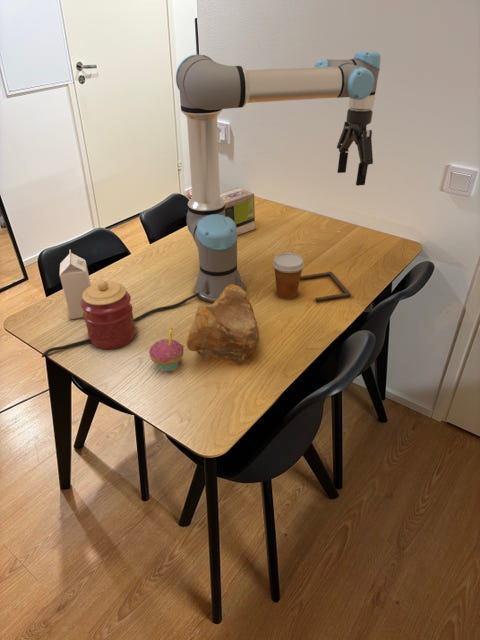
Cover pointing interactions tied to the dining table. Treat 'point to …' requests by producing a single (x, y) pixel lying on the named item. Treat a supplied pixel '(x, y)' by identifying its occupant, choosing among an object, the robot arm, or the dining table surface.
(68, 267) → the milk carton
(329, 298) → the walnut frame
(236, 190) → the tea box
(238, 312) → the rough brown rock
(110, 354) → the dining table surface
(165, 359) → the cupcake
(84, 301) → the kitchen canister
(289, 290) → the disposable coffee cup
